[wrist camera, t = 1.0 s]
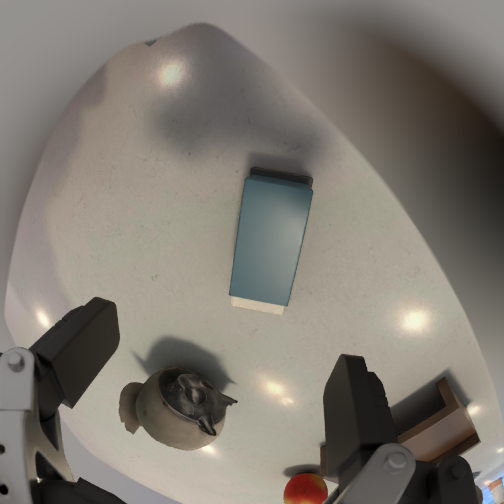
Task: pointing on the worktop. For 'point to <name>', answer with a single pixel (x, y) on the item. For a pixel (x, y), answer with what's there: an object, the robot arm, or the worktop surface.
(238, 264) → the teal eraser block
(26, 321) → the worktop surface
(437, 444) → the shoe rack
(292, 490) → the apple
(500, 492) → the pepper shaker
